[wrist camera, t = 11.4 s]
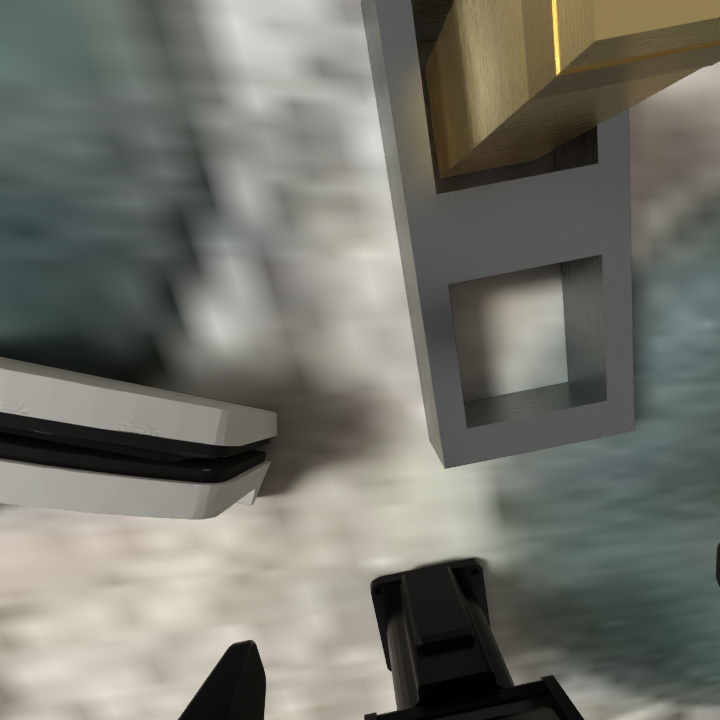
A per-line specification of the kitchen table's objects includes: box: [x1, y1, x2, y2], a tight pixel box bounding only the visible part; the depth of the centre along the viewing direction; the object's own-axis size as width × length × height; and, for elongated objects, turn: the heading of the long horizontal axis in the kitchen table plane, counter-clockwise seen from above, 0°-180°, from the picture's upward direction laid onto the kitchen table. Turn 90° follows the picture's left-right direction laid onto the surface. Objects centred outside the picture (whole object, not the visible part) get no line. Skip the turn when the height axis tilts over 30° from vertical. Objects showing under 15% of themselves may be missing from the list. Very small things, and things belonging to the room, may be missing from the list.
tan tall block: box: [425, 0, 720, 179], centre depth 12 cm, size 5×5×11 cm
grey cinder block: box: [361, 0, 635, 469], centre depth 17 cm, size 20×9×3 cm, turn 11°
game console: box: [0, 357, 277, 519], centre depth 15 cm, size 17×5×10 cm, turn 76°
